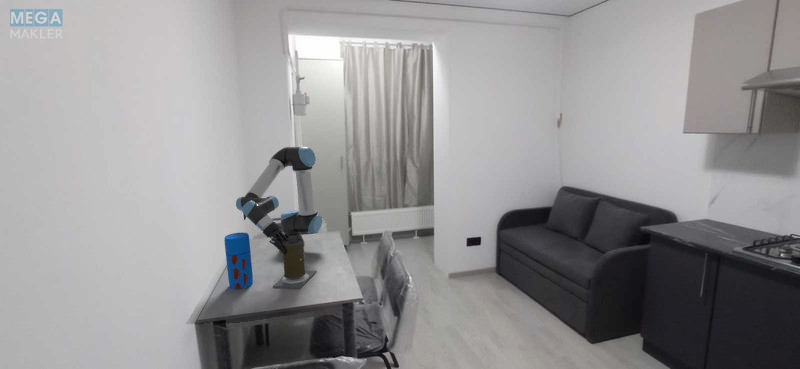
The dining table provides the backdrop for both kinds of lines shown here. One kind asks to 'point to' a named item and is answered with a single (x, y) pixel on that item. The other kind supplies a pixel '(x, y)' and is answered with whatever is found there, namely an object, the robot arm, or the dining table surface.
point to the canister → (294, 258)
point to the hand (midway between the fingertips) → (301, 259)
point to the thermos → (238, 260)
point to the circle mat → (294, 281)
